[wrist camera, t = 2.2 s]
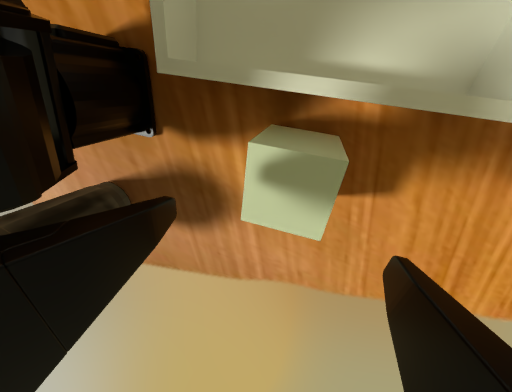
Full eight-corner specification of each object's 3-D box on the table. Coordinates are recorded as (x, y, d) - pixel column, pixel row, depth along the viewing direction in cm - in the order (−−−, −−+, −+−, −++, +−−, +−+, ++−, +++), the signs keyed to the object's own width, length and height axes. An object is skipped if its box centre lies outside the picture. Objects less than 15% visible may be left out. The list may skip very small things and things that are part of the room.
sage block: (319, 195, 17) (320, 241, 12) (262, 182, 18) (240, 220, 13) (338, 135, 15) (349, 161, 10) (271, 124, 16) (248, 142, 10)
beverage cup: (152, 211, 24) (-283, 534, 7) (122, 231, 27) (-216, 479, 10) (105, 158, 22) (-664, 416, 5) (79, 187, 25) (-424, 398, 8)
